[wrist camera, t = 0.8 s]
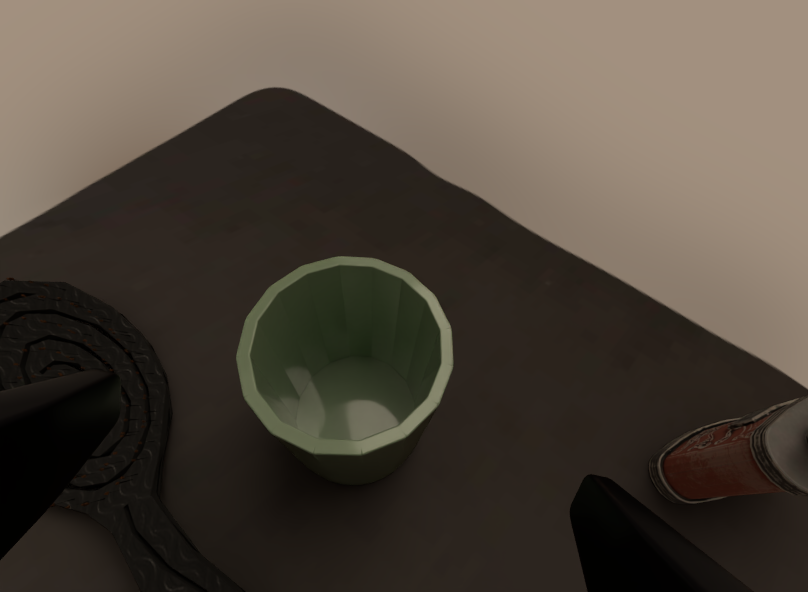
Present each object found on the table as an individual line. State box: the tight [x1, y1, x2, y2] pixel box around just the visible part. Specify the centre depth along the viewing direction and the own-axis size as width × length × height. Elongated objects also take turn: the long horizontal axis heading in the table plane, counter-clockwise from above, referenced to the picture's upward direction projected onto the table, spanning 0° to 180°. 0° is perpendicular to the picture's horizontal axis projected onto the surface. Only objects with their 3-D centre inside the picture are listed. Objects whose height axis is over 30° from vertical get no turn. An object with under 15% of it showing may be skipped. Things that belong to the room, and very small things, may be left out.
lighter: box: [649, 396, 808, 504], centre depth 18 cm, size 8×3×10 cm, turn 109°
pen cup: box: [236, 256, 454, 485], centre depth 18 cm, size 7×7×10 cm
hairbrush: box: [0, 278, 245, 592], centre depth 18 cm, size 8×4×25 cm
